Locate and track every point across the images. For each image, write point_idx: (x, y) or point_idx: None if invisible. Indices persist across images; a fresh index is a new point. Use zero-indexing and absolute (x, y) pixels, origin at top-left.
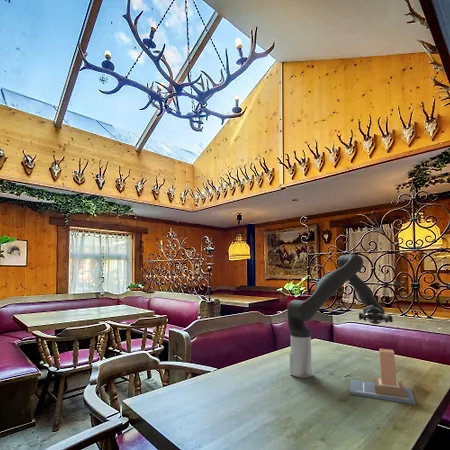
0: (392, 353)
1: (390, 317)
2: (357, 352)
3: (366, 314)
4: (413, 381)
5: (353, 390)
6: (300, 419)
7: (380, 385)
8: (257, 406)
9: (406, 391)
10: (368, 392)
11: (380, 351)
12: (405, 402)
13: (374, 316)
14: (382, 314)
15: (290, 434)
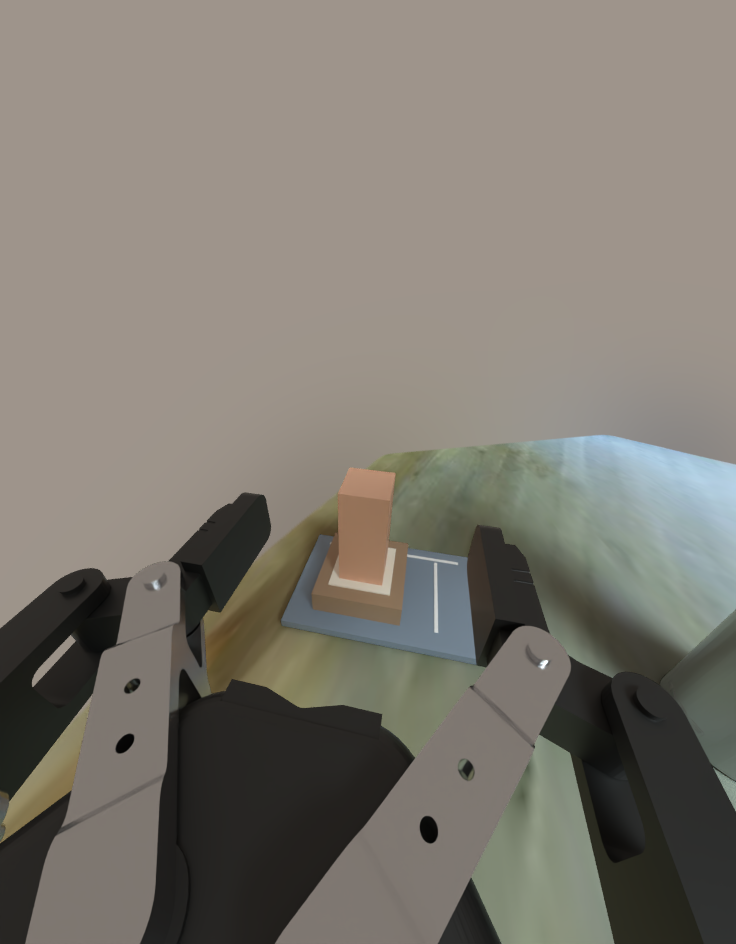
0: (355, 470)
1: (106, 582)
2: None
3: (505, 713)
4: None
5: (463, 565)
6: (525, 475)
7: (392, 547)
8: (612, 493)
9: (310, 588)
10: (423, 561)
11: (393, 473)
12: None
13: (322, 714)
14: (130, 675)
15: (519, 453)
